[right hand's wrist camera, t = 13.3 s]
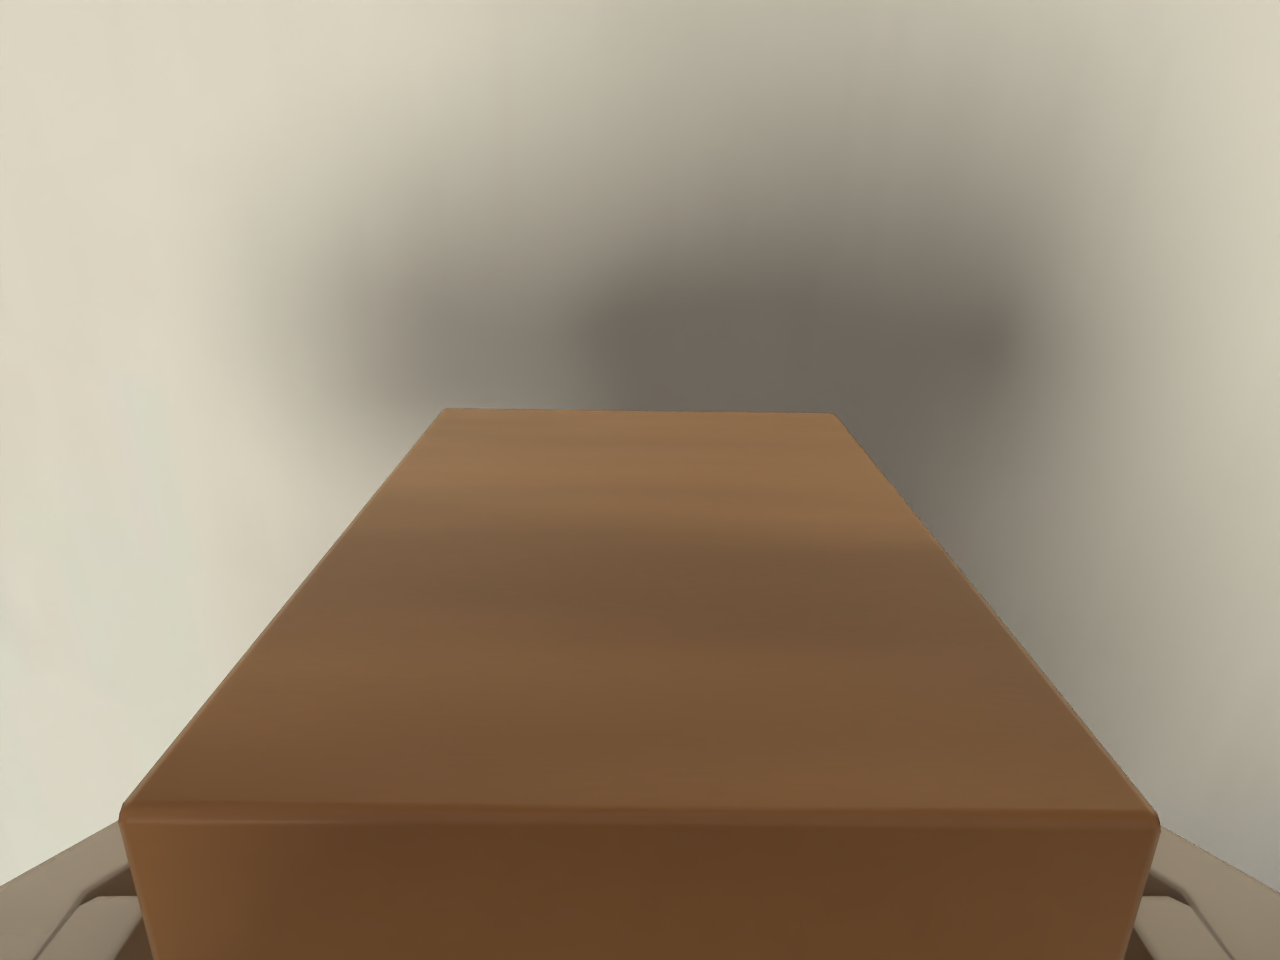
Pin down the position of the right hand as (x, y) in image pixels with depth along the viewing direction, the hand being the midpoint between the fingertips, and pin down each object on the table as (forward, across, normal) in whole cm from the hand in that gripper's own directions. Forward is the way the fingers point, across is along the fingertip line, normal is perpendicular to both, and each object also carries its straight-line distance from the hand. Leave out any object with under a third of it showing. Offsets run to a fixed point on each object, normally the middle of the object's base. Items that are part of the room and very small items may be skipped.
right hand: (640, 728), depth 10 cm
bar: (+3, 0, -10) cm, 10 cm away
